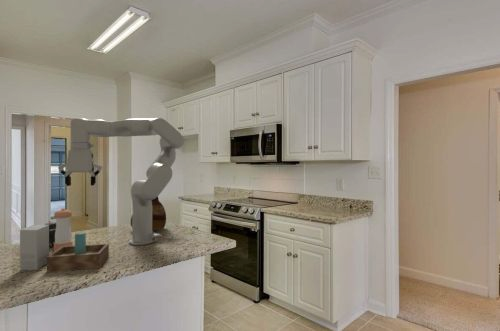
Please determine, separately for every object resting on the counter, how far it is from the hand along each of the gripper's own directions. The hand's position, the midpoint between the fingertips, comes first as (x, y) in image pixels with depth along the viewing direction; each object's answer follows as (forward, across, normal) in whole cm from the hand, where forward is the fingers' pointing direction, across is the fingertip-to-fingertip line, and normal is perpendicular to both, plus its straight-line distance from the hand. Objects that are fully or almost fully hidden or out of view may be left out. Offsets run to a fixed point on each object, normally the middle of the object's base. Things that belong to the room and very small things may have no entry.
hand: (80, 185), depth 130 cm
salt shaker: (+31, +10, -8) cm, 33 cm away
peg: (+30, -4, +14) cm, 34 cm away
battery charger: (+31, +17, -14) cm, 38 cm away
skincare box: (+31, +12, +14) cm, 36 cm away
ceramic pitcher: (+31, -24, -40) cm, 56 cm away
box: (+30, -4, +14) cm, 34 cm away
